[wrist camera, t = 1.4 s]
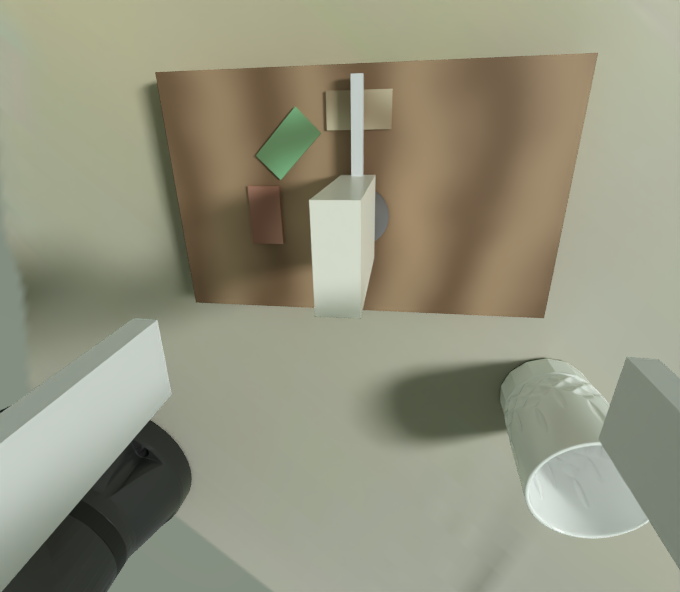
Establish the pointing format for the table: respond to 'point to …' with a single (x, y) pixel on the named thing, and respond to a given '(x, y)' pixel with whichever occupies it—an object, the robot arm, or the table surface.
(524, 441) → the white cup
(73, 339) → the table surface
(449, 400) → the table surface
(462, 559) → the table surface
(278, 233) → the wooden cutting board
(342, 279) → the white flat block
